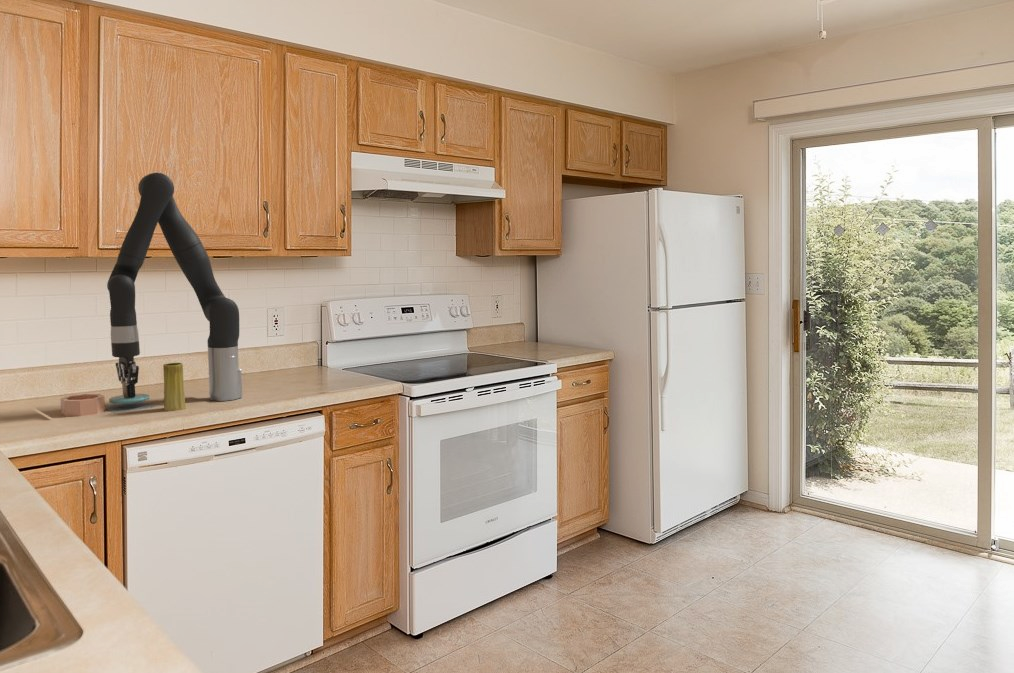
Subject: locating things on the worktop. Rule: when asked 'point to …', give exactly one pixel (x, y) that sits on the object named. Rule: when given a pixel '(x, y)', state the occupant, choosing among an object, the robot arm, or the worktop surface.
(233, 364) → the robot arm
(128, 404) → the mat
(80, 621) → the worktop surface
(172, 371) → the vase
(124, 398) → the lid
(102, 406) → the bowl
